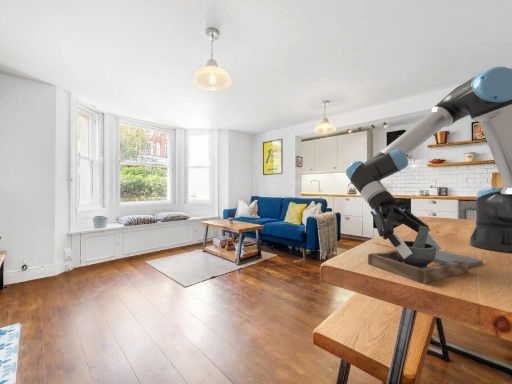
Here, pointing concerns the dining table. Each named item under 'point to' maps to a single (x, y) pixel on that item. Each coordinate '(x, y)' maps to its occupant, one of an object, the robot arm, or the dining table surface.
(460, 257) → the slate mat
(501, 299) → the dining table surface
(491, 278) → the dining table surface
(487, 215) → the robot arm
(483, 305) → the dining table surface
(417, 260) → the mortar and pestle
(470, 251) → the dining table surface
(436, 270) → the rectangular wooden frame
